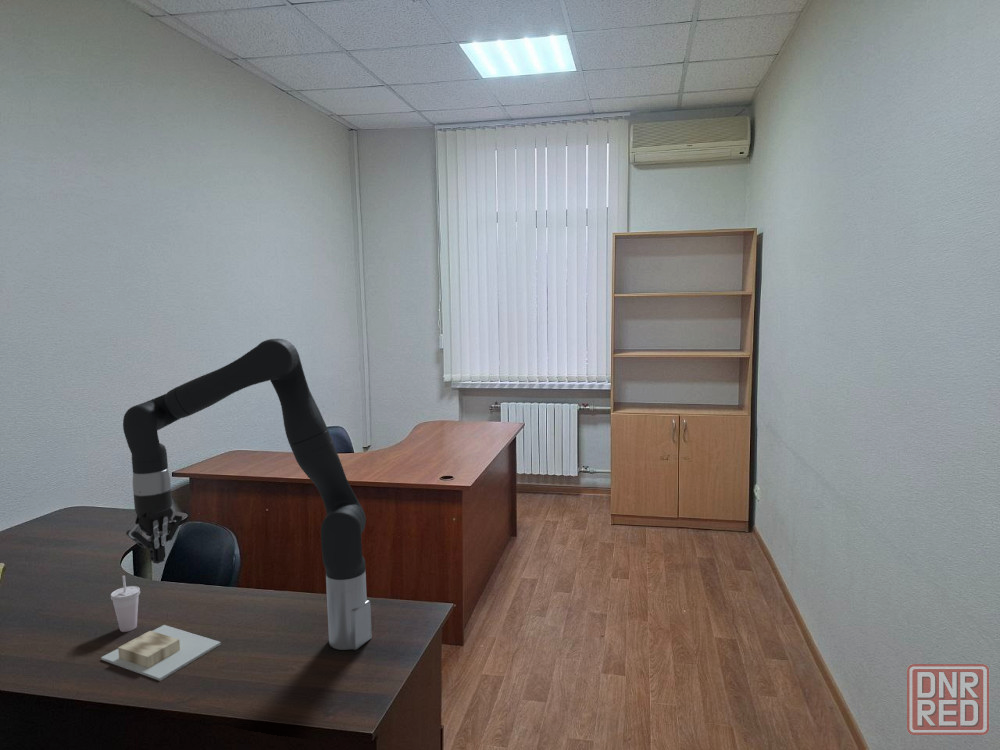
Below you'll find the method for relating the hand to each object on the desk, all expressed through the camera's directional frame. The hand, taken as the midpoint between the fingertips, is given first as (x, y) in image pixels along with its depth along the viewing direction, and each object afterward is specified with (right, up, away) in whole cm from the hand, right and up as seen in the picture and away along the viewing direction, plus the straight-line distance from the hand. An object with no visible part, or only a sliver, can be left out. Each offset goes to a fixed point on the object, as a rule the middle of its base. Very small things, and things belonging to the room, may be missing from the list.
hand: (158, 561), depth 145 cm
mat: (0, -22, +2) cm, 22 cm away
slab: (0, -20, +4) cm, 20 cm away
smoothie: (-15, -21, +13) cm, 29 cm away
